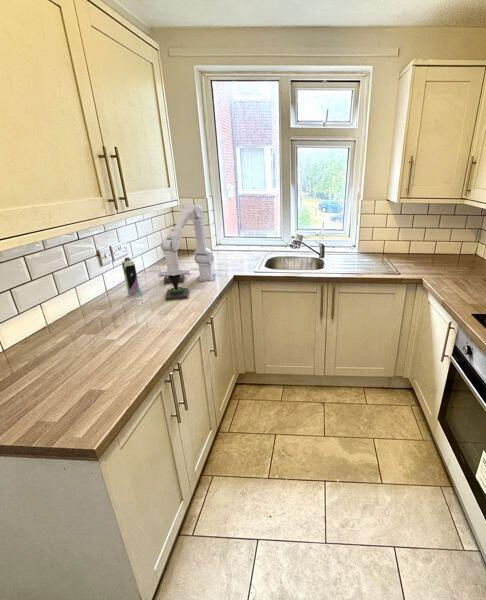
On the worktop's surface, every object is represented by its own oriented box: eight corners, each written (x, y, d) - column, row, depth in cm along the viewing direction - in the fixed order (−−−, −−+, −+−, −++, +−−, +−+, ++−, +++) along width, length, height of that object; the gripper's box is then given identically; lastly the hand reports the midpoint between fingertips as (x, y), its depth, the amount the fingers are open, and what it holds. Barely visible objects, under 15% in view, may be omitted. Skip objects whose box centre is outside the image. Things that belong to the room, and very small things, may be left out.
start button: (173, 291, 163) (173, 288, 162) (180, 290, 164) (180, 287, 163) (172, 293, 160) (172, 290, 159) (180, 293, 161) (180, 289, 160)
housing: (168, 292, 167) (167, 286, 165) (188, 290, 169) (187, 284, 168) (166, 300, 156) (164, 294, 155) (187, 298, 159) (186, 292, 157)
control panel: (166, 277, 189) (165, 272, 187) (184, 276, 191) (183, 271, 190) (164, 285, 177) (163, 279, 176) (183, 283, 180) (182, 278, 178)
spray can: (135, 297, 159) (127, 259, 151) (126, 296, 160) (118, 258, 152) (142, 293, 164) (135, 256, 156) (133, 292, 165) (126, 255, 157)
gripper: (155, 266, 151) (160, 293, 156) (187, 264, 155) (191, 290, 160) (157, 262, 157) (161, 288, 162) (188, 260, 161) (191, 285, 166)
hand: (176, 289), depth 161 cm, fingers closed, pressing on start button
